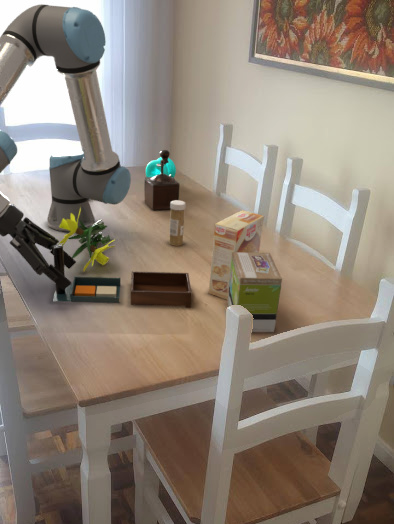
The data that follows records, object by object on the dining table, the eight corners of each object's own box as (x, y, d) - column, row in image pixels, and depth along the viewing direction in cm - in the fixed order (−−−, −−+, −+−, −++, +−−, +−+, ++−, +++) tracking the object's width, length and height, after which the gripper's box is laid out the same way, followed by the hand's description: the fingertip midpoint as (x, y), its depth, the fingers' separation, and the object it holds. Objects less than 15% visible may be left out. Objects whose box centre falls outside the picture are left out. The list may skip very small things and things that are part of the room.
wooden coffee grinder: (180, 208, 211) (183, 159, 201) (152, 210, 207) (153, 159, 197) (166, 196, 223) (168, 148, 213) (139, 197, 219) (140, 149, 209)
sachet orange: (76, 288, 149) (76, 285, 149) (95, 289, 150) (95, 285, 149) (74, 296, 145) (74, 293, 145) (94, 297, 146) (94, 293, 145)
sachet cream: (97, 289, 150) (97, 285, 149) (116, 289, 150) (116, 286, 150) (96, 297, 146) (96, 293, 146) (115, 297, 147) (115, 293, 146)
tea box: (225, 303, 149) (231, 250, 141) (263, 304, 150) (271, 251, 142) (233, 333, 136) (240, 276, 128) (275, 333, 137) (284, 277, 129)
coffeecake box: (230, 301, 150) (238, 230, 140) (207, 293, 153) (213, 223, 143) (256, 282, 161) (265, 215, 151) (234, 275, 164) (241, 209, 154)
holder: (131, 285, 154) (131, 271, 152) (187, 286, 156) (188, 272, 154) (130, 306, 144) (130, 291, 142) (190, 307, 146) (191, 292, 143)
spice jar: (185, 245, 181) (188, 203, 174) (173, 247, 179) (175, 205, 172) (178, 240, 184) (180, 199, 177) (165, 242, 182) (167, 200, 175)
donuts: (176, 182, 239) (177, 158, 234) (165, 188, 231) (166, 163, 226) (155, 178, 242) (156, 154, 237) (144, 184, 235) (144, 159, 229)
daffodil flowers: (134, 243, 181) (120, 258, 148) (94, 266, 183) (72, 285, 150) (107, 195, 177) (86, 198, 143) (66, 218, 179) (37, 227, 145)
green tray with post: (57, 285, 151) (54, 238, 144) (120, 286, 153) (120, 240, 146) (52, 302, 143) (48, 253, 136) (119, 304, 145) (118, 256, 138)
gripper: (1, 208, 146) (65, 265, 156) (-22, 243, 126) (54, 306, 136) (20, 188, 144) (84, 247, 154) (0, 221, 124) (75, 287, 133)
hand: (70, 275), depth 145 cm, fingers open, 12 cm apart
